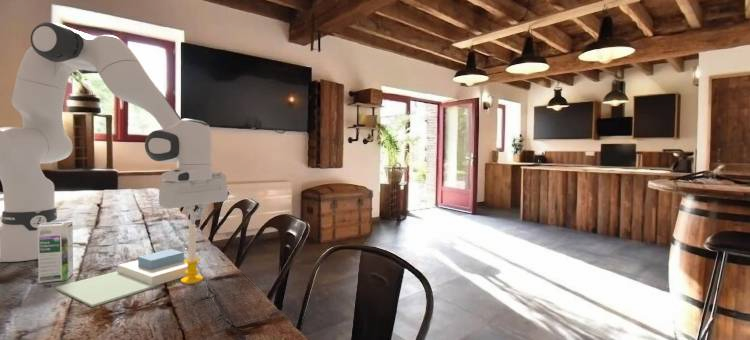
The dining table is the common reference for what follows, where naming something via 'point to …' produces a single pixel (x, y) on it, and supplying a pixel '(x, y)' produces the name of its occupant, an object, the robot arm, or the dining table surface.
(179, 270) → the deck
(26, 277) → the dining table surface
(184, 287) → the dining table surface
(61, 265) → the syrup box
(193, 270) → the candle
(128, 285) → the mat
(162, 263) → the tile
